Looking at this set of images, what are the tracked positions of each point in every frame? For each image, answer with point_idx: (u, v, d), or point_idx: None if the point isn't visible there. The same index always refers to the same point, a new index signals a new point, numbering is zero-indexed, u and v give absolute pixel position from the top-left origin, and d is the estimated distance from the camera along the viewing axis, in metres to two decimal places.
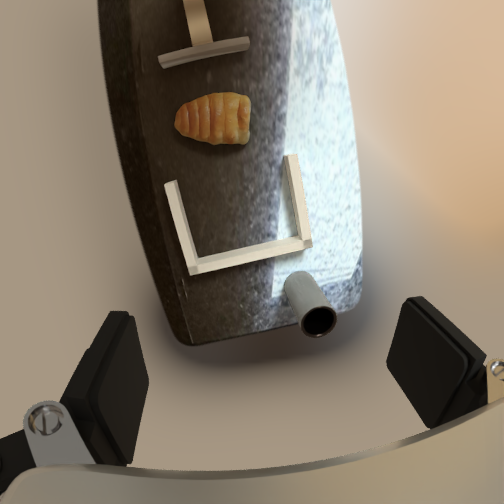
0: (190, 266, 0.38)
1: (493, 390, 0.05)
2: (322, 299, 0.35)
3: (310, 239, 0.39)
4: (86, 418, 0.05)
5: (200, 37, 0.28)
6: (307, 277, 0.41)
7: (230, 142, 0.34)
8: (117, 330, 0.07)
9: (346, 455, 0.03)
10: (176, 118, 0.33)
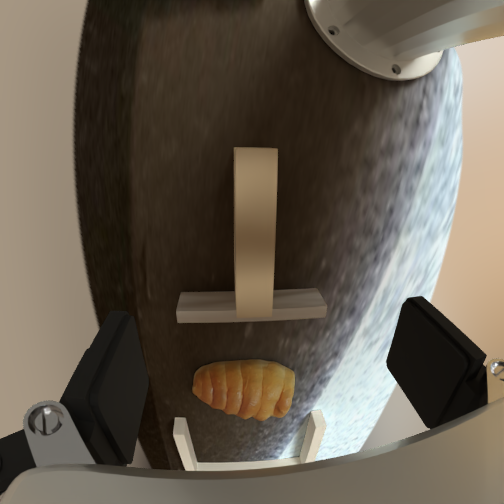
0: None
1: (493, 390, 0.05)
2: None
3: None
4: (86, 418, 0.05)
5: (252, 309, 0.20)
6: None
7: None
8: (117, 330, 0.07)
9: (346, 455, 0.03)
10: (195, 385, 0.25)
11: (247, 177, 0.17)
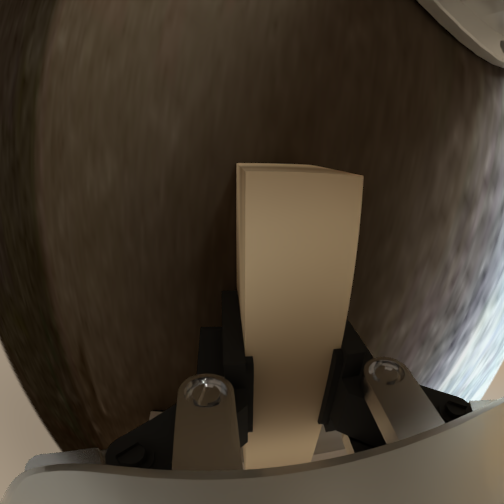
0: None
1: (387, 401, 0.05)
2: None
3: None
4: (238, 385, 0.07)
5: None
6: None
7: None
8: None
9: (346, 455, 0.03)
10: None
11: (277, 255, 0.06)
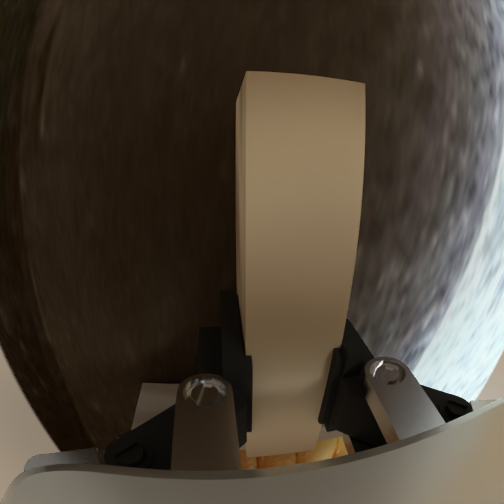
0: None
1: (388, 401, 0.05)
2: None
3: None
4: (237, 385, 0.07)
5: (279, 445, 0.08)
6: None
7: None
8: (238, 306, 0.09)
9: (346, 455, 0.03)
10: None
11: (280, 156, 0.05)
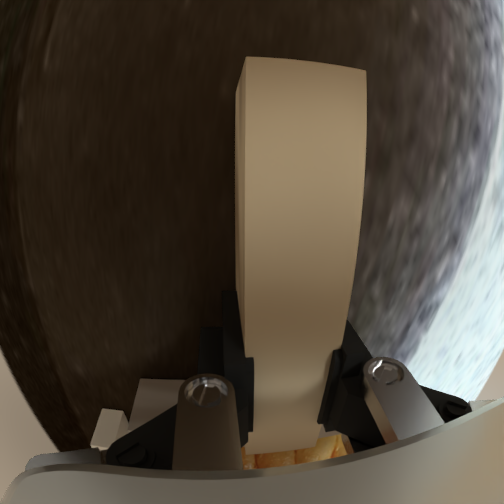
0: None
1: (387, 401, 0.05)
2: None
3: None
4: (239, 385, 0.07)
5: (279, 442, 0.08)
6: None
7: None
8: None
9: (346, 455, 0.03)
10: None
11: (280, 142, 0.05)
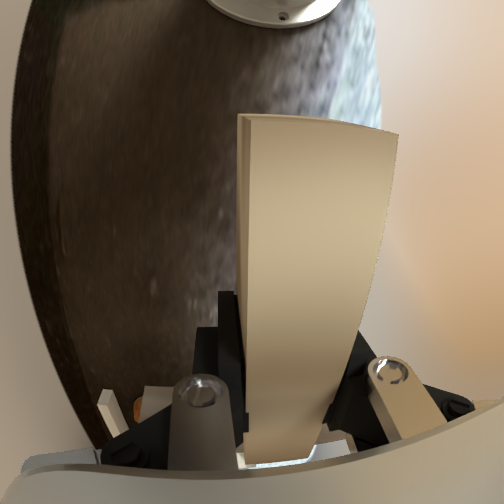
0: None
1: (391, 400, 0.05)
2: None
3: None
4: (233, 385, 0.07)
5: (275, 456, 0.09)
6: None
7: None
8: (235, 306, 0.09)
9: (346, 455, 0.03)
10: (134, 414, 0.27)
11: (290, 228, 0.05)
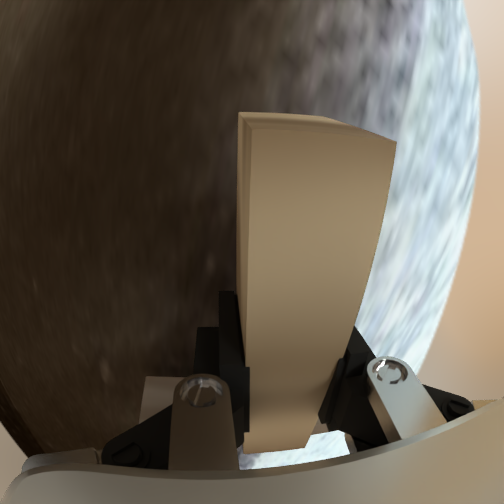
0: None
1: (390, 400, 0.05)
2: None
3: None
4: (234, 385, 0.07)
5: (273, 445, 0.09)
6: None
7: None
8: (235, 306, 0.09)
9: (346, 455, 0.03)
10: None
11: (288, 232, 0.05)
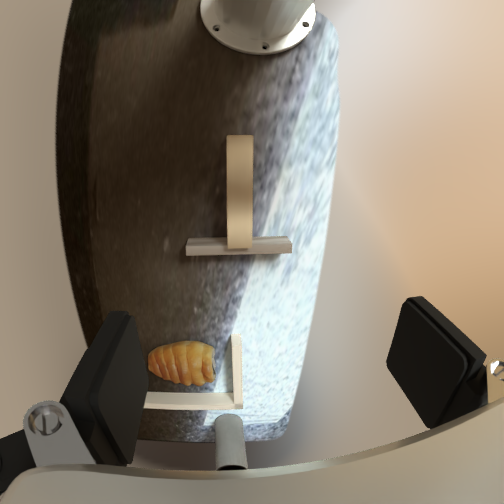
0: None
1: (493, 390, 0.05)
2: (238, 456, 0.35)
3: (241, 404, 0.39)
4: (86, 418, 0.05)
5: (238, 242, 0.30)
6: (234, 424, 0.41)
7: None
8: (117, 330, 0.07)
9: (346, 455, 0.03)
10: (149, 364, 0.37)
11: (234, 152, 0.27)
